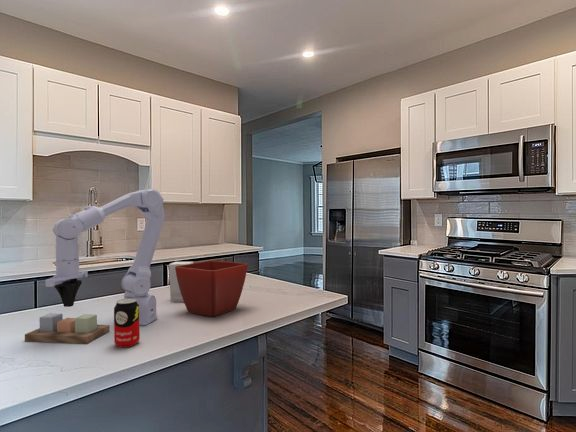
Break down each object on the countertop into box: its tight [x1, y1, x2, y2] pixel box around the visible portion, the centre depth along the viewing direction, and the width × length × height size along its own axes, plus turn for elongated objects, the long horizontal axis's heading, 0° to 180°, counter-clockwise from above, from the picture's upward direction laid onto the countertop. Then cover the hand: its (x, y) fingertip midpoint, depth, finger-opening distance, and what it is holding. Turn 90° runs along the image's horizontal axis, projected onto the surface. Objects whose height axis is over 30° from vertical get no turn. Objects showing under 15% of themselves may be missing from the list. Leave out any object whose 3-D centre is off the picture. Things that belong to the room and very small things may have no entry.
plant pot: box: [175, 260, 248, 317], centre depth 130 cm, size 19×19×17 cm
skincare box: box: [168, 261, 194, 303], centre depth 145 cm, size 8×7×16 cm
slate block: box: [39, 312, 64, 332], centre depth 105 cm, size 4×4×4 cm
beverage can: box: [113, 298, 141, 348], centre depth 98 cm, size 6×6×12 cm
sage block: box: [74, 313, 98, 333], centre depth 104 cm, size 4×4×4 cm
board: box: [24, 324, 111, 345], centre depth 104 cm, size 19×10×2 cm, turn 84°
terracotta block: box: [57, 317, 76, 333], centre depth 104 cm, size 4×4×4 cm
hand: (68, 306), depth 104 cm, fingers closed
